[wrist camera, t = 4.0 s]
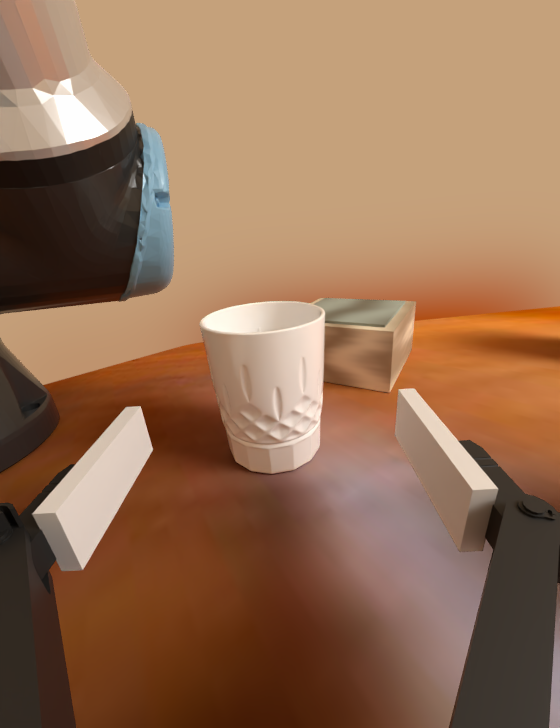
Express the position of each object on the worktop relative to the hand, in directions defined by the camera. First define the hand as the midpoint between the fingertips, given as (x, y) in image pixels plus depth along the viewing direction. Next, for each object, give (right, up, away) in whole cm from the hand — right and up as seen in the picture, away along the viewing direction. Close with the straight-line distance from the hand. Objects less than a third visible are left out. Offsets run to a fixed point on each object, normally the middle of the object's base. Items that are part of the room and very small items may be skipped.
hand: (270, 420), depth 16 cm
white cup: (0, -3, +8) cm, 8 cm away
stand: (+9, +3, +21) cm, 23 cm away
